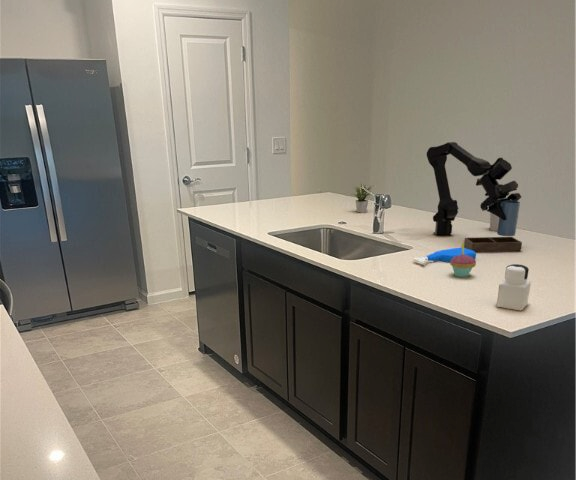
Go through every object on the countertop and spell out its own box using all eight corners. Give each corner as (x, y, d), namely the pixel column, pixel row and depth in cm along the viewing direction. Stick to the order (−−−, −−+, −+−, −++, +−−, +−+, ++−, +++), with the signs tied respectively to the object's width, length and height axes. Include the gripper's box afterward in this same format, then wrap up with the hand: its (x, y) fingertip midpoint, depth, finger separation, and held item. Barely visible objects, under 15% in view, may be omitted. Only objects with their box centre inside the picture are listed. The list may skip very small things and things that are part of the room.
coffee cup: (507, 228, 261) (512, 196, 255) (508, 232, 252) (512, 199, 247) (486, 227, 264) (490, 195, 258) (486, 231, 255) (490, 198, 250)
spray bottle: (460, 246, 217) (408, 254, 208) (479, 252, 207) (425, 260, 199) (459, 253, 218) (407, 261, 210) (478, 259, 209) (425, 268, 200)
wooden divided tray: (471, 252, 219) (472, 243, 218) (463, 246, 229) (464, 237, 227) (520, 251, 219) (522, 242, 218) (510, 245, 229) (512, 236, 227)
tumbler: (497, 235, 220) (501, 202, 215) (497, 232, 226) (501, 200, 221) (515, 236, 218) (520, 203, 213) (514, 233, 224) (519, 200, 219)
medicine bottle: (502, 300, 166) (508, 261, 161) (527, 304, 162) (533, 264, 157) (496, 306, 160) (501, 267, 156) (521, 311, 156) (527, 270, 152)
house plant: (376, 214, 301) (378, 183, 295) (351, 214, 301) (352, 184, 295) (373, 209, 314) (374, 180, 308) (349, 210, 314) (350, 181, 308)
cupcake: (445, 272, 194) (448, 238, 190) (468, 271, 195) (472, 237, 190) (454, 279, 186) (458, 244, 182) (478, 278, 187) (482, 243, 182)
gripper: (490, 176, 212) (510, 208, 207) (520, 172, 221) (540, 203, 216) (471, 194, 221) (490, 226, 216) (501, 190, 230) (520, 220, 226)
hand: (511, 218), depth 218 cm, fingers closed on tumbler, 7 cm apart
